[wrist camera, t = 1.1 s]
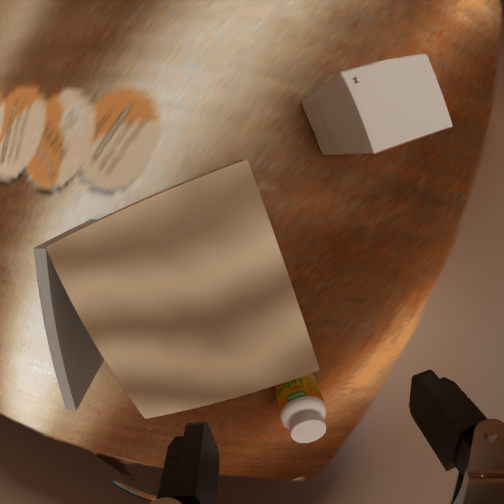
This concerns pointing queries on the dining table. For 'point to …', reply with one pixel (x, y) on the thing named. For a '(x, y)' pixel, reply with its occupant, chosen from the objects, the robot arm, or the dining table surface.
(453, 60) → the dining table surface
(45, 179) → the dining table surface
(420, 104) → the small box
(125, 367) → the cabinet
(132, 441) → the dining table surface
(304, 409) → the supplement bottle
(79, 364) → the door
